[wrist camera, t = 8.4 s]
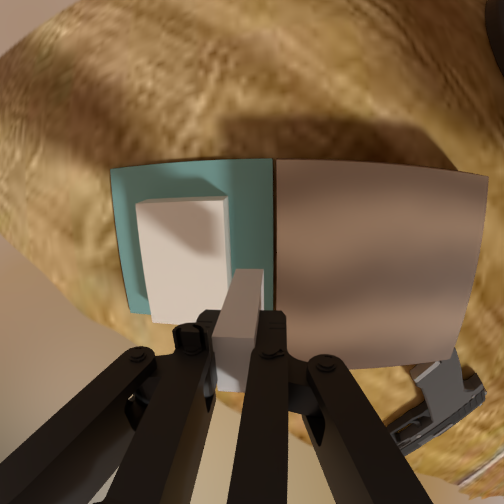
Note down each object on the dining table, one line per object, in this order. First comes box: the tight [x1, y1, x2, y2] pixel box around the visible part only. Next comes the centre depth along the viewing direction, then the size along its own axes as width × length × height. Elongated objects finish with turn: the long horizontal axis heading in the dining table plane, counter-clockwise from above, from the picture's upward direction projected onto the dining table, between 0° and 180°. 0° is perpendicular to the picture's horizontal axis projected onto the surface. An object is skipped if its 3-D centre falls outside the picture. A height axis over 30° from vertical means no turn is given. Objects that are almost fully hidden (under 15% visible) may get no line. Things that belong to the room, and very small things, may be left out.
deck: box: [276, 158, 489, 370], centre depth 19 cm, size 14×14×4 cm
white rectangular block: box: [135, 196, 232, 325], centre depth 21 cm, size 9×6×2 cm, turn 1°
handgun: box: [386, 347, 487, 457], centre depth 26 cm, size 3×18×12 cm
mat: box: [110, 158, 273, 315], centre depth 22 cm, size 12×12×1 cm
